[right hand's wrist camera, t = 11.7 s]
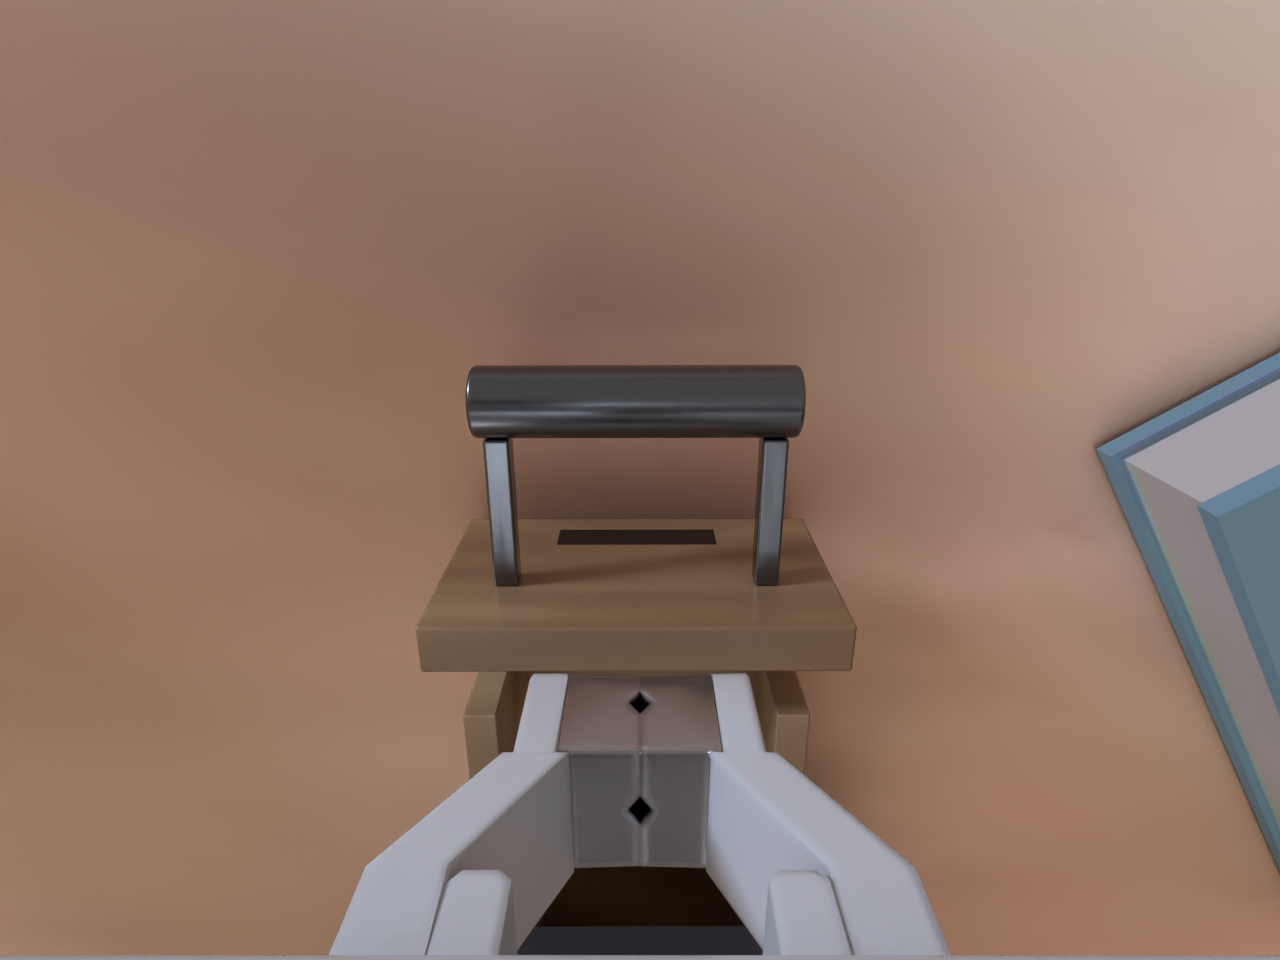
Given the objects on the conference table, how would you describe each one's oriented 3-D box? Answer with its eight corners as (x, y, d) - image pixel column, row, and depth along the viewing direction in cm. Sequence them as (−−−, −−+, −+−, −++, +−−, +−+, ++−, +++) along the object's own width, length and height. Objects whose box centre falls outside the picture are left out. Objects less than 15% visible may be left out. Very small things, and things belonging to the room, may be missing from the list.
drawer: (454, 335, 20) (383, 390, 15) (818, 335, 20) (885, 389, 15) (510, 963, 29) (480, 1147, 23) (765, 963, 29) (795, 1147, 23)
